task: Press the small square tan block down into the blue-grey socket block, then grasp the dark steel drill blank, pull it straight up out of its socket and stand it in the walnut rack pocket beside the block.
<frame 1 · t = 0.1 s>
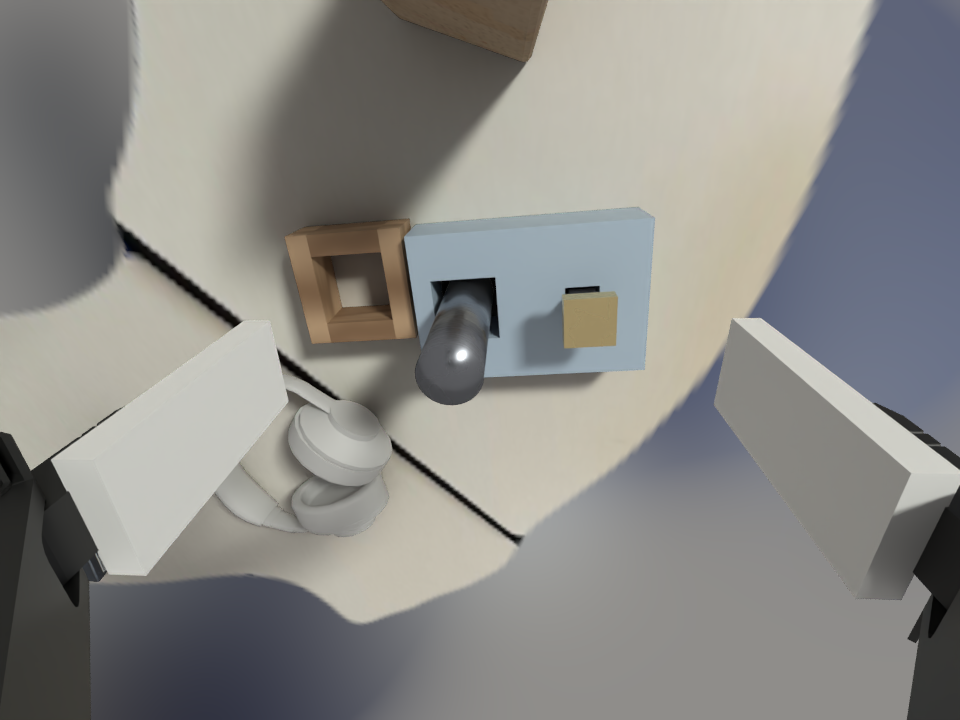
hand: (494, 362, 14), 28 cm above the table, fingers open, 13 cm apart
socket block: (528, 287, 42), on the table
rack: (366, 275, 42), on the table
headphones: (305, 437, 51), on the table
drill blank: (470, 290, 42), resting in socket block
small box: (130, 467, 54), on the table
small square tan block: (584, 309, 36), point 6 cm above the table, slide at 0.0 cm
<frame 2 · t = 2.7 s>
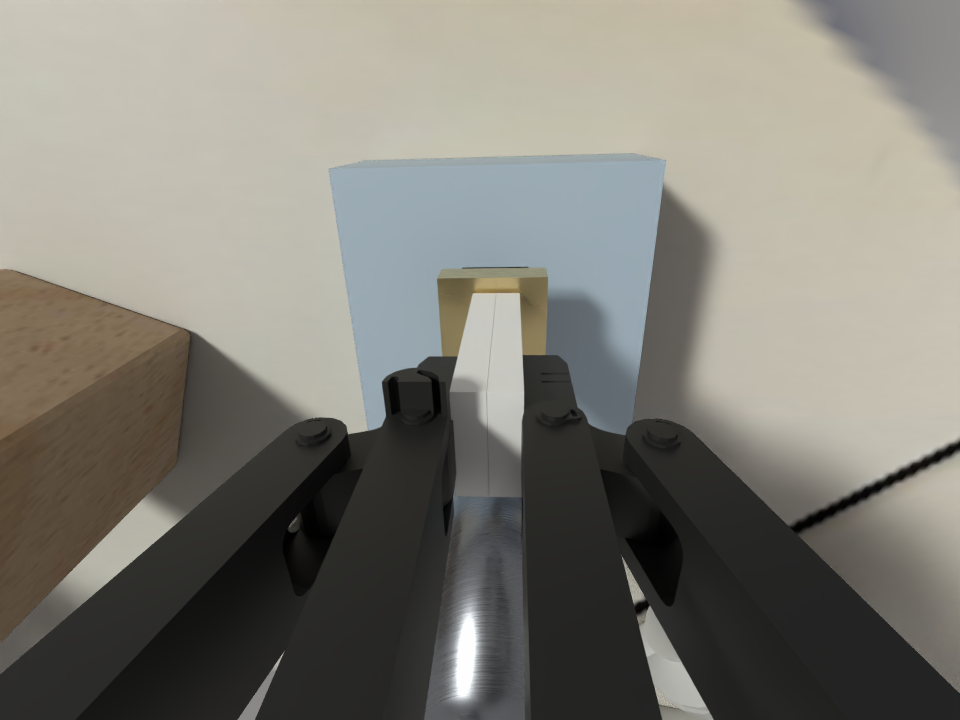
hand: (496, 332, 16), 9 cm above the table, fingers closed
socket block: (499, 341, 26), on the table
headphones: (709, 637, 35), on the table
drill blank: (499, 421, 28), resting in socket block
small square tan block: (495, 302, 19), point 5 cm above the table, slide at 1.0 cm, touching gripper
wooden block: (103, 372, 28), on the table
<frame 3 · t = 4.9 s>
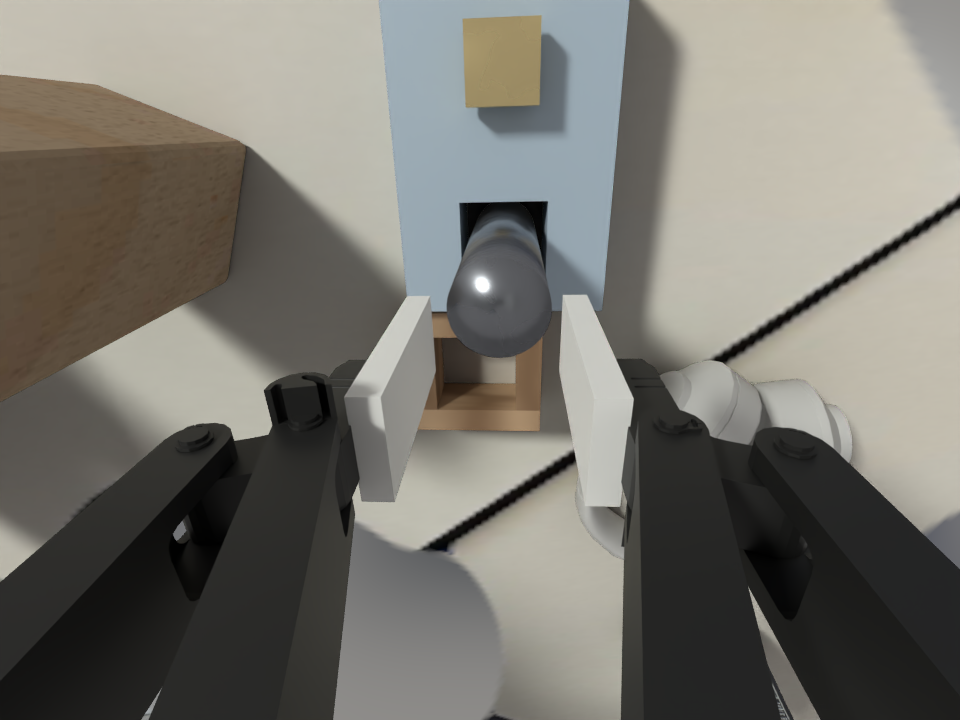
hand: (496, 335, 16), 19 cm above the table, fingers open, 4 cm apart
socket block: (504, 149, 31), on the table
rack: (478, 351, 37), on the table
headphones: (689, 454, 40), on the table
drill blank: (504, 230, 33), resting in socket block
small box: (683, 627, 49), on the table
small square tan block: (503, 69, 25), point 4 cm above the table, slide at 2.4 cm
wooden block: (169, 190, 33), on the table
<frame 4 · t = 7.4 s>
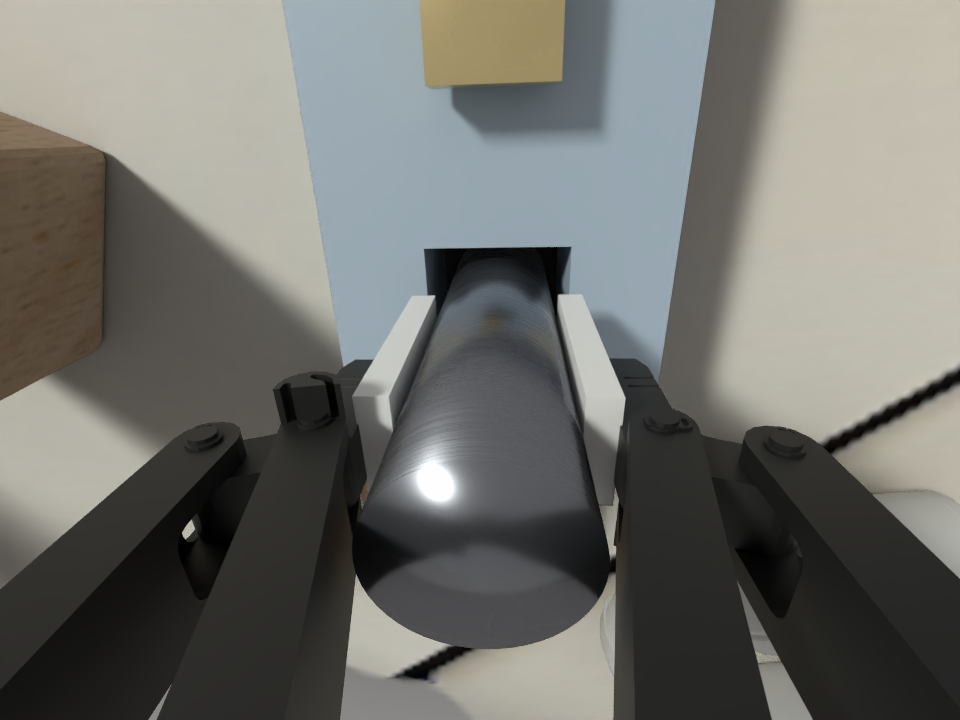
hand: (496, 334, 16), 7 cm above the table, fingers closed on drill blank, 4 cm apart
socket block: (499, 159, 20), on the table
headphones: (756, 570, 29), on the table
drill blank: (500, 278, 22), resting in socket block, touching gripper
small square tan block: (495, 22, 14), point 4 cm above the table, slide at 2.4 cm
wooden block: (3, 218, 22), on the table
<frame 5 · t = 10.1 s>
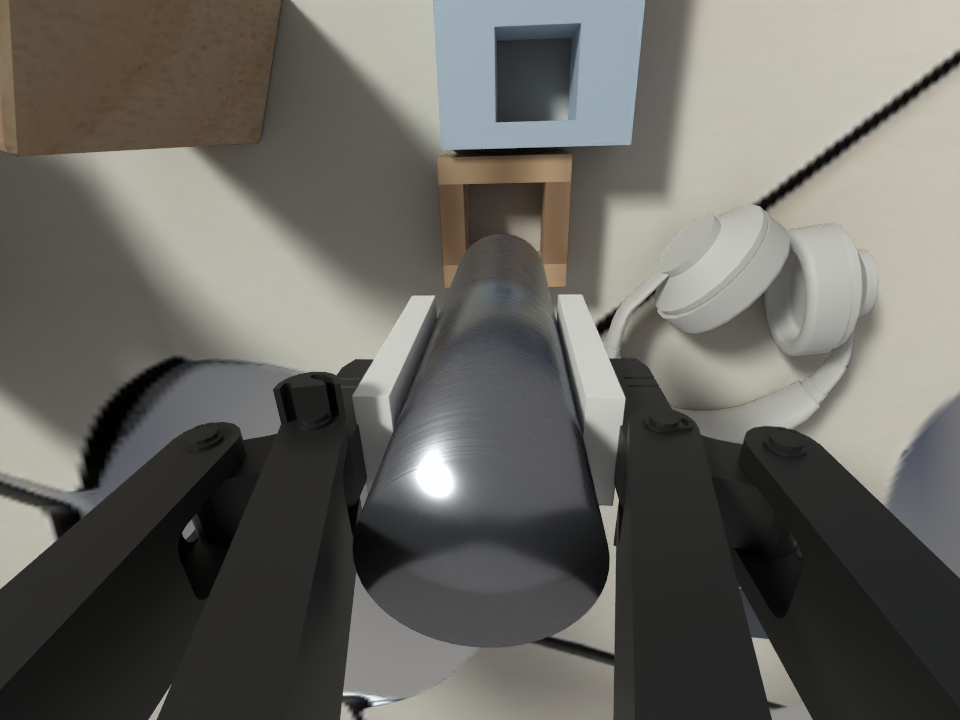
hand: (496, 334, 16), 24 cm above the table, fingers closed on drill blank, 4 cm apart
rack: (505, 216, 38), on the table
headphones: (711, 324, 41), on the table
drill blank: (500, 278, 22), point 17 cm above the table, touching gripper
small box: (700, 521, 50), on the table
wooden block: (205, 45, 34), on the table
when the fingers open (8 cm above the table, at t = 13.1 s): drill blank drops 1 cm, resting in rack.
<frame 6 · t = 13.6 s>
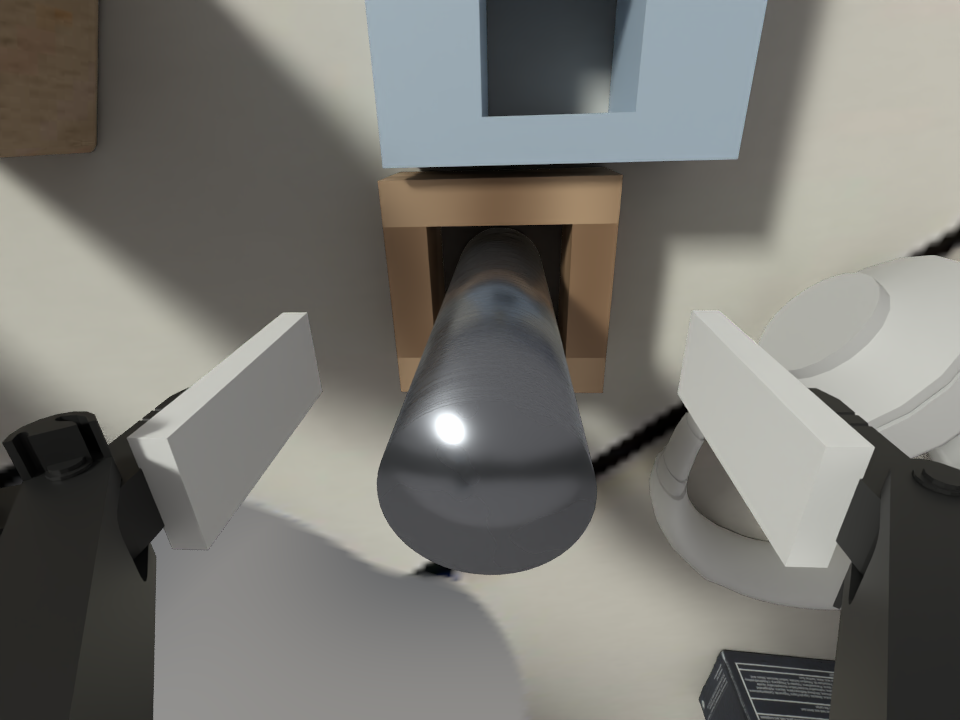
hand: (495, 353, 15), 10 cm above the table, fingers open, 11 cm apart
rack: (501, 269, 23), on the table
headphones: (822, 426, 26), on the table
drill blank: (500, 269, 23), resting in rack
small box: (776, 679, 36), on the table
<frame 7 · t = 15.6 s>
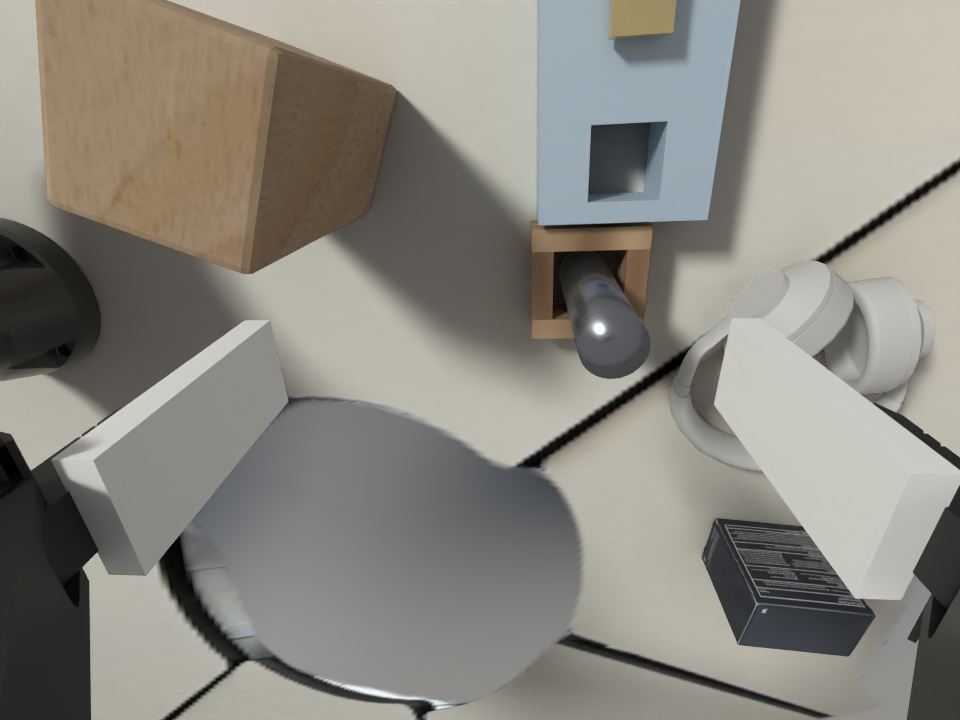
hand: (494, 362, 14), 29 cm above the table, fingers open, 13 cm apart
socket block: (618, 86, 36), on the table
rack: (583, 272, 42), on the table
headphones: (772, 361, 44), on the table
drill blank: (582, 272, 42), resting in rack
small box: (753, 542, 53), on the table
small square tan block: (634, 8, 30), point 4 cm above the table, slide at 2.4 cm
wooden block: (325, 132, 39), on the table
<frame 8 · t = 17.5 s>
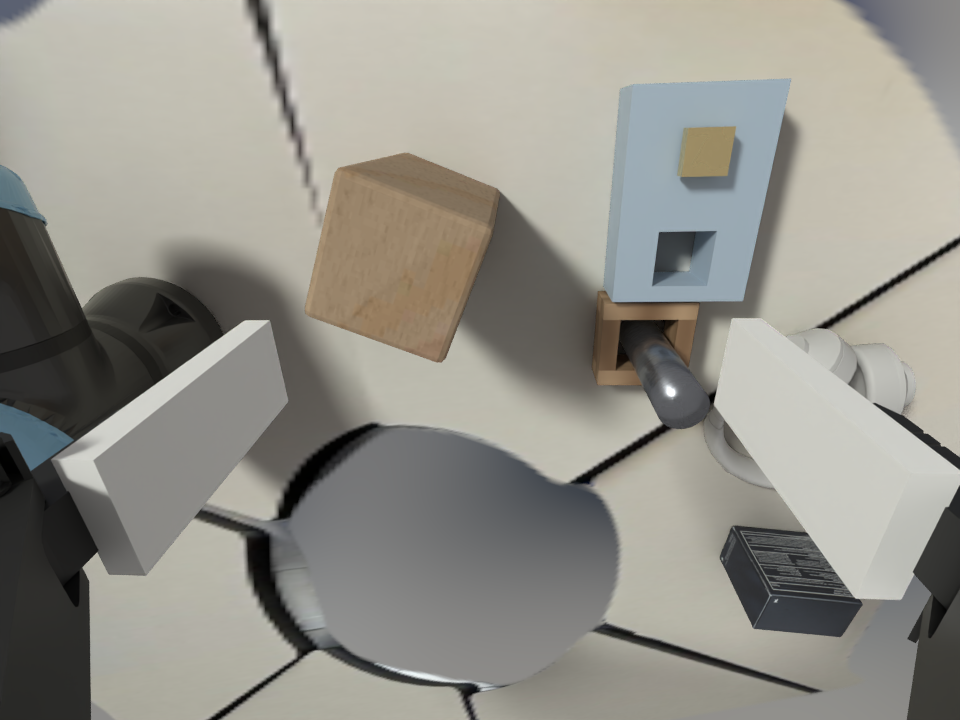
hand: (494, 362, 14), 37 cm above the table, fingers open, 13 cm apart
socket block: (674, 194, 46), on the table
rack: (637, 330, 52), on the table
headphones: (786, 401, 55), on the table
drill blank: (636, 330, 52), resting in rack
small box: (762, 544, 65), on the table
small square tan block: (696, 150, 41), point 4 cm above the table, slide at 2.4 cm
wooden block: (437, 220, 49), on the table
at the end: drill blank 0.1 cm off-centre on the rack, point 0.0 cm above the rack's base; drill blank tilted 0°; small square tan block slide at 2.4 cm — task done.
